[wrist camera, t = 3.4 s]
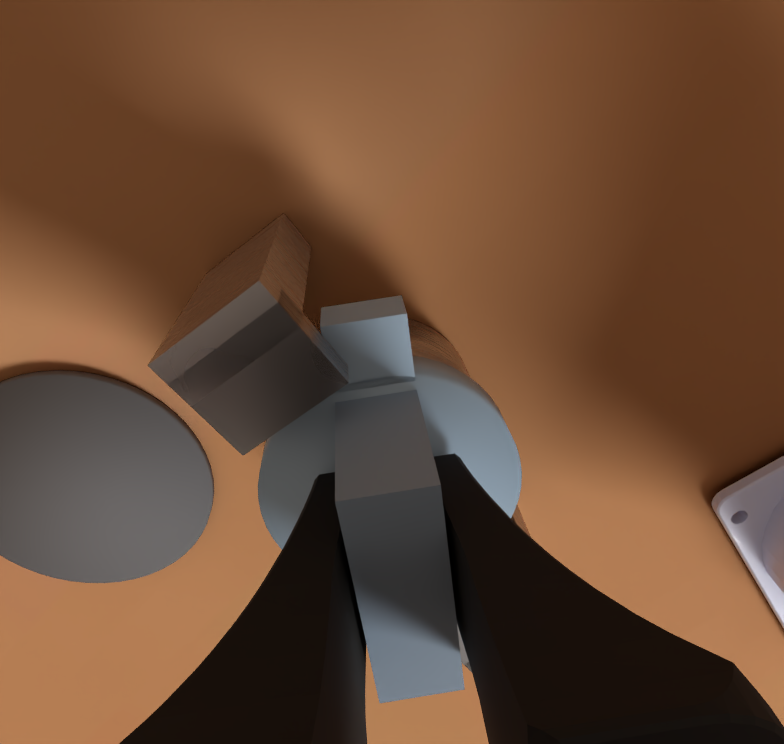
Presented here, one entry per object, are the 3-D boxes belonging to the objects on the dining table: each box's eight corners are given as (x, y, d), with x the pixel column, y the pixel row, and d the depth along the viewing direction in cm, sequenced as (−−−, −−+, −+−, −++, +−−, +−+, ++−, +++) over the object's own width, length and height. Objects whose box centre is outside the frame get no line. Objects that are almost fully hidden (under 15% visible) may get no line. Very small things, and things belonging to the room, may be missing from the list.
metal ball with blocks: (552, 478, 18) (623, 612, 13) (416, 559, 19) (440, 709, 14) (328, 178, 14) (324, 231, 9) (166, 304, 15) (91, 408, 10)
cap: (515, 573, 15) (569, 724, 12) (301, 608, 15) (291, 770, 12) (501, 279, 12) (572, 369, 8) (220, 323, 12) (169, 432, 8)
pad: (265, 496, 17) (264, 502, 17) (94, 609, 19) (91, 617, 18) (72, 318, 14) (67, 322, 14) (-112, 467, 16) (-120, 474, 16)
